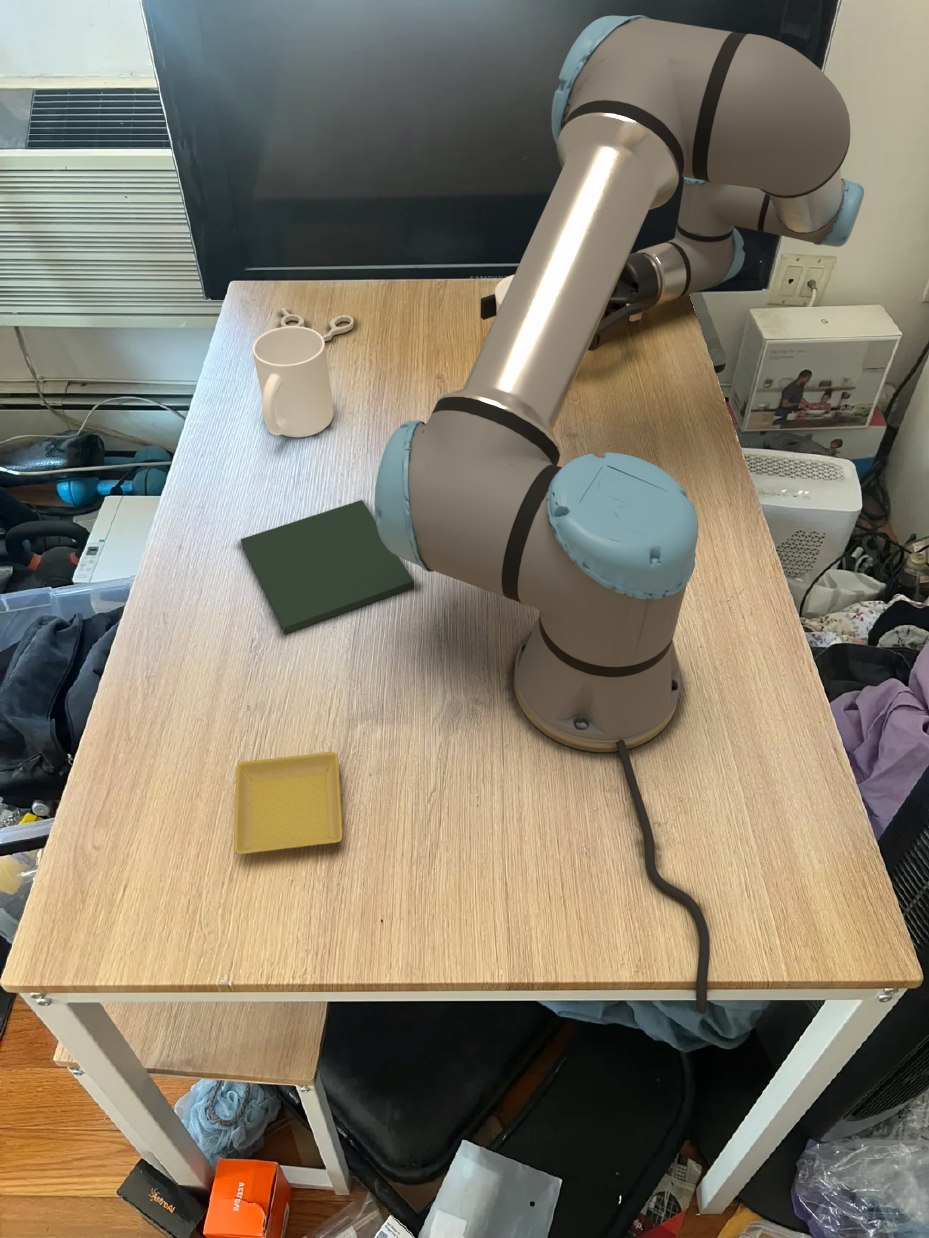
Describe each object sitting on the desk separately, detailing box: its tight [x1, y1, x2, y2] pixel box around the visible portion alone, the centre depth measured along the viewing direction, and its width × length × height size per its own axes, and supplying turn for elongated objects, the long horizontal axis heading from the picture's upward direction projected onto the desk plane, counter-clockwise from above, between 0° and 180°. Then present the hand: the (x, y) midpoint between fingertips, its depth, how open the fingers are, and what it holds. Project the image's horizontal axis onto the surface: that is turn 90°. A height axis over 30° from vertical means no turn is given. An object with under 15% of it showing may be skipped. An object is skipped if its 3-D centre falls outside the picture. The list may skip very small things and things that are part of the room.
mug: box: [252, 325, 335, 438], centre depth 108 cm, size 12×8×10 cm
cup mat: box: [240, 499, 415, 634], centre depth 95 cm, size 14×14×1 cm
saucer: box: [233, 751, 344, 855], centre depth 76 cm, size 9×9×2 cm
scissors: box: [280, 307, 355, 342], centre depth 122 cm, size 11×1×20 cm
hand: (504, 328), depth 115 cm, fingers closed on cup, 10 cm apart
